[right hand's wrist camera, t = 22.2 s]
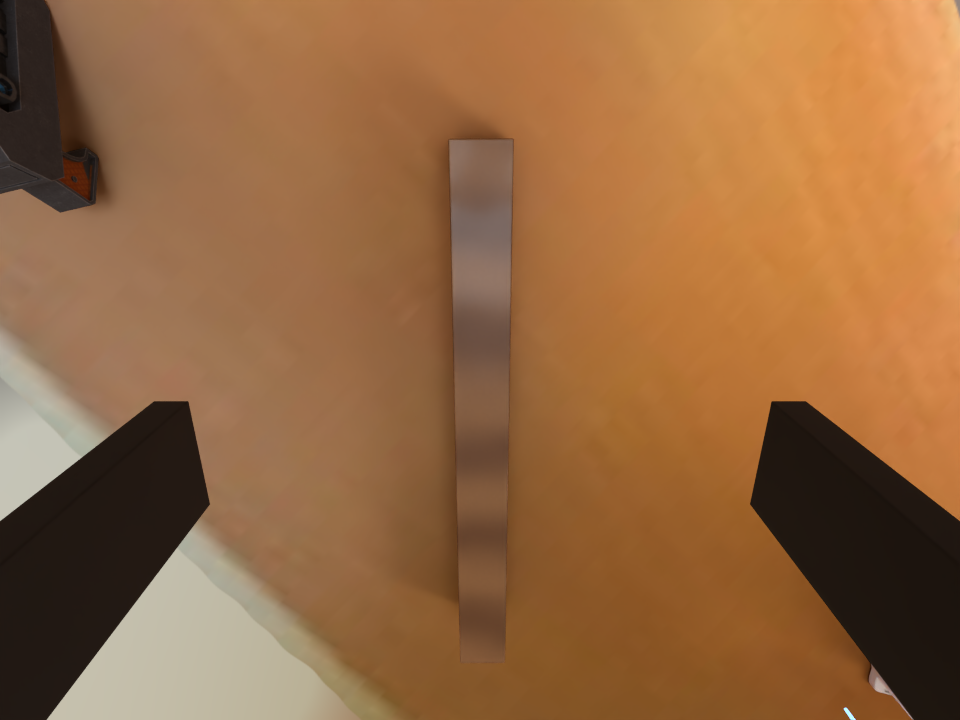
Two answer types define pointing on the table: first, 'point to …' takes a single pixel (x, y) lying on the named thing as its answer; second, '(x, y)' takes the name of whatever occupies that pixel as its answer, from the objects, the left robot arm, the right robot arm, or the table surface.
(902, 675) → the right robot arm
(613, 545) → the table surface
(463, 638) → the bar
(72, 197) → the tool
